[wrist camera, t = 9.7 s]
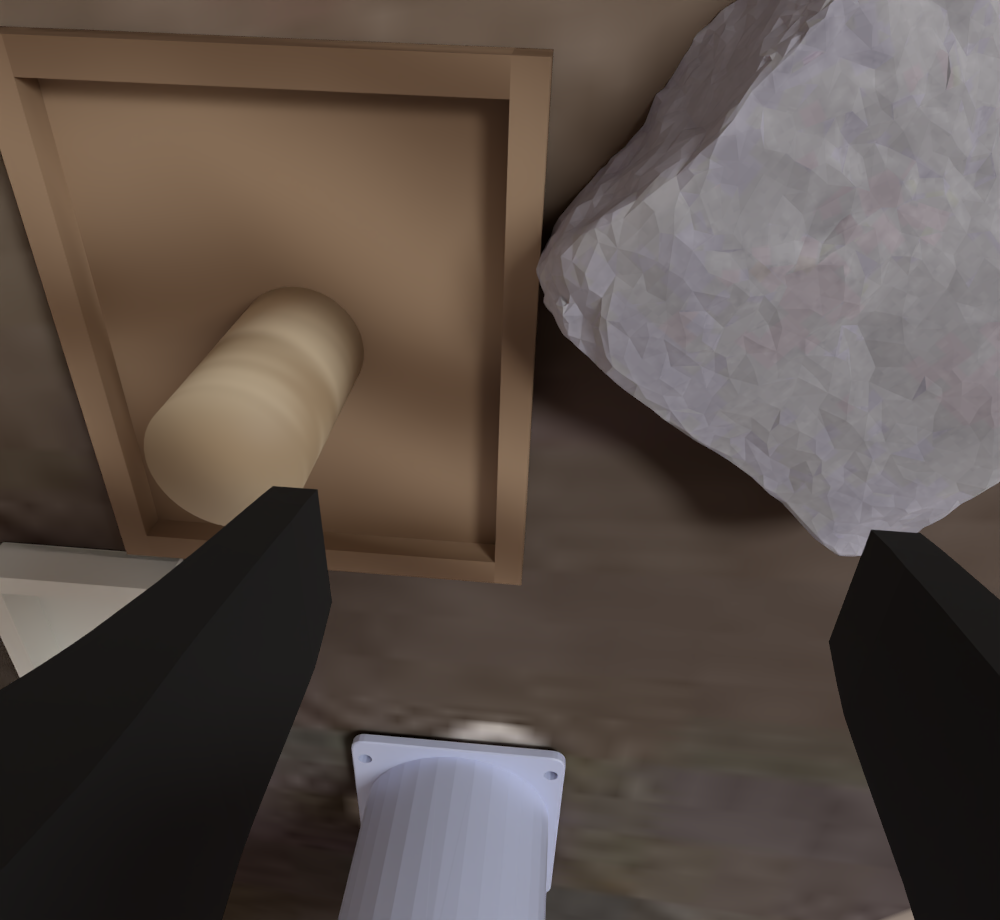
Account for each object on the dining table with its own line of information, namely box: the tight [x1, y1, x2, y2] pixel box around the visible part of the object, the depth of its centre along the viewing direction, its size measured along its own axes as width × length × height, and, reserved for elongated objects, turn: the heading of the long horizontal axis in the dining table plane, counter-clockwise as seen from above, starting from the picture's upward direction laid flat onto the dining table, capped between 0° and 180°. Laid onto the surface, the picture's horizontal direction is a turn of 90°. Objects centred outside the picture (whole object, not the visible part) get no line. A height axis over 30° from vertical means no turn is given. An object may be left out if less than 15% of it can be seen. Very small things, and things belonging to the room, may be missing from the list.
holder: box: [0, 542, 183, 677], centre depth 27 cm, size 6×6×2 cm
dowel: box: [144, 287, 364, 526], centre depth 18 cm, size 3×3×6 cm
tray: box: [0, 26, 553, 585], centre depth 20 cm, size 14×12×1 cm
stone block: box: [536, 0, 1000, 556], centre depth 17 cm, size 12×5×10 cm
